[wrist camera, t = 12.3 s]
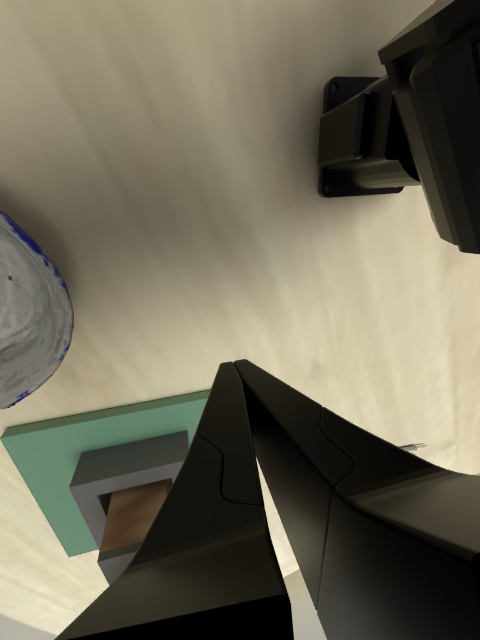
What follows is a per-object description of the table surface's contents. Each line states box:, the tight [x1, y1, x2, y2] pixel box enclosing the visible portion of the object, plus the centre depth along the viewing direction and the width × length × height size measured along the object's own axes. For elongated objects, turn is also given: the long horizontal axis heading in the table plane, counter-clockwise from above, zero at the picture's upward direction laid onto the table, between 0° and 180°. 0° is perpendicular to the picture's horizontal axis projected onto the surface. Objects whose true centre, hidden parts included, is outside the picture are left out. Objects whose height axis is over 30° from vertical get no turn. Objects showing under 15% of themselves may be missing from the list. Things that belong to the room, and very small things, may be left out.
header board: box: [0, 390, 210, 557], centre depth 24 cm, size 18×16×4 cm
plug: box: [97, 478, 173, 585], centre depth 22 cm, size 4×6×7 cm
